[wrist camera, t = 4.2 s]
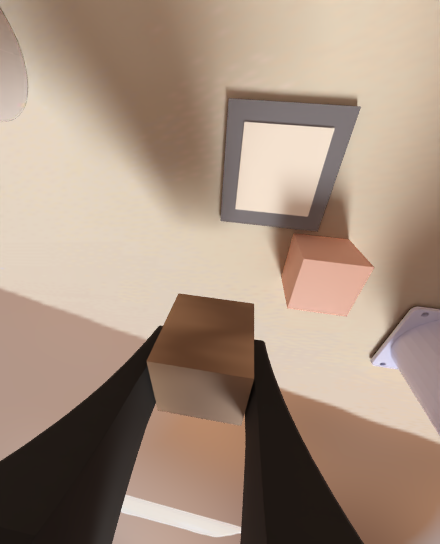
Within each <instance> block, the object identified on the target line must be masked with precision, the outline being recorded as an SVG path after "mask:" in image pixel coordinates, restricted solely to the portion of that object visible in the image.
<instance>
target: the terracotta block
mask: <svg viewBox="0 0 440 544" xmlns="http://www.w3.org/2000/svg"><path fill="white" fill-rule="evenodd" d="M373 269H374V267H373V265H372V264H371V263H370V262H369V261H368V260H367V259H366V258H365V257H364V256H363V254H362V253H361V252H360V251H359V250H358V249H357V248H356V247H355V246H354V245H353V243H352V242H351V241H350V240H349V239H341V238H332V237H323V236H314V235H305V234H296V233H293V237H292V240H291V244H290V248H289V251H288V255H287V258H286V262H285V265H284V269H283V273H282V276H281V278H282V283H283V288H284V293H285V298H286V304H287V308H289V309H296V310H303V311H310V312H318V313H325V314H332V315H339V316H346V317H347V315H348V313H349V311H350V310H351V308H352V306H353V304H354V303H355V301H356V299H357V297H358V295H359V294H360V292H361V290H362V288H363V287H364V285H365V283H366V281H367V280H368V278H369V276H370V274H371V273H372V271H373Z"/></svg>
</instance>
